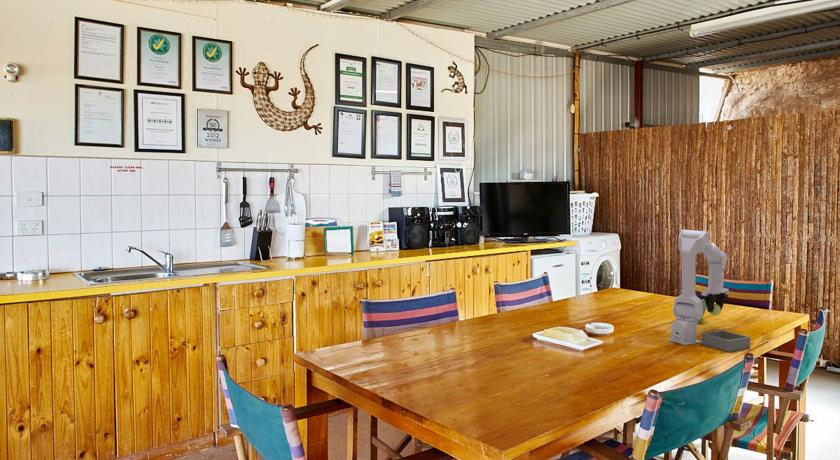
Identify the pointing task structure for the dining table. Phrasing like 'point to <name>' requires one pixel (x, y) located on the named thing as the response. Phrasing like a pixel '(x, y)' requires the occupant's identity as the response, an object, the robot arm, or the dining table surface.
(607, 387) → the dining table surface
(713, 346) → the tub
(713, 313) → the lime
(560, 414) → the dining table surface
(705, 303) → the mug
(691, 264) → the robot arm
